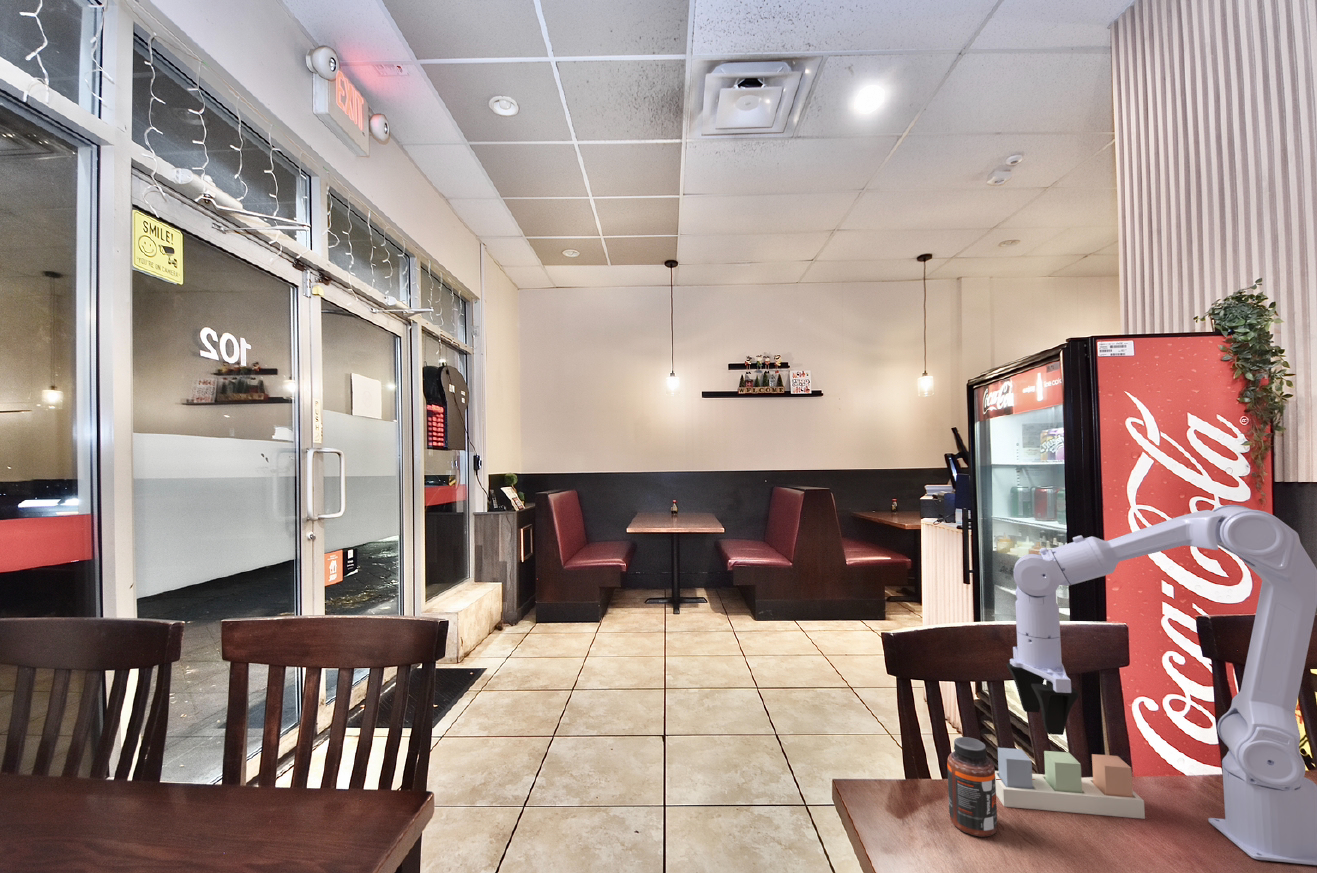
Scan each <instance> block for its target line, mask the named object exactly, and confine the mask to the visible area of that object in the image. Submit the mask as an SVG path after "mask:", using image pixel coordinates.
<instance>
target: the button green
mask: <svg viewBox="0 0 1317 873" xmlns="http://www.w3.org/2000/svg"><path fill="white" fill-rule="evenodd" d="M1043 754H1044V755H1043V756H1044V775H1045V780H1046V781H1047V783H1048V784H1049V785H1050V786H1051V787H1052V788H1053V790H1054V791H1059V792H1071V793H1082V780H1081V777H1082V765H1081V763H1080V762H1079V761H1078V760H1077V759H1076V758H1075V757H1074V756H1073V755H1072V754H1071V753H1070V752H1066V751H1064V752H1063V751H1053V750H1052V751H1051V750H1050V751H1049V750H1044V751H1043Z"/></svg>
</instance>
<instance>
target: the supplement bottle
mask: <svg viewBox="0 0 1317 873" xmlns="http://www.w3.org/2000/svg"><path fill="white" fill-rule="evenodd" d="M953 742H954V744H953V750H954V751H953V752H952V751H951V753H949V755H948V757H947V791H948V813H949V819H950V821H951V823H952V824H953V825H954V827H956V828H957V829H959V830H960V831H962V832H963V833H966V834H969V835H971V836H974V837H991V836H993V835H994V834H995V833H997V829H998V810H997V805H998V804H997V795H996V783H995V780H996V779H995V771H996V770H995V769H996V768H995V765H994V763H993V762H992V761H991V760H990V759H989V758H988V757H987V755H988V753H987V746H986V744H985V743H984V742H982V741H980V740H979V739H976V738H973V737H968V736H967V737H966V736H959V737H957V738H956V737H955V739H954V740H953Z"/></svg>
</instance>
